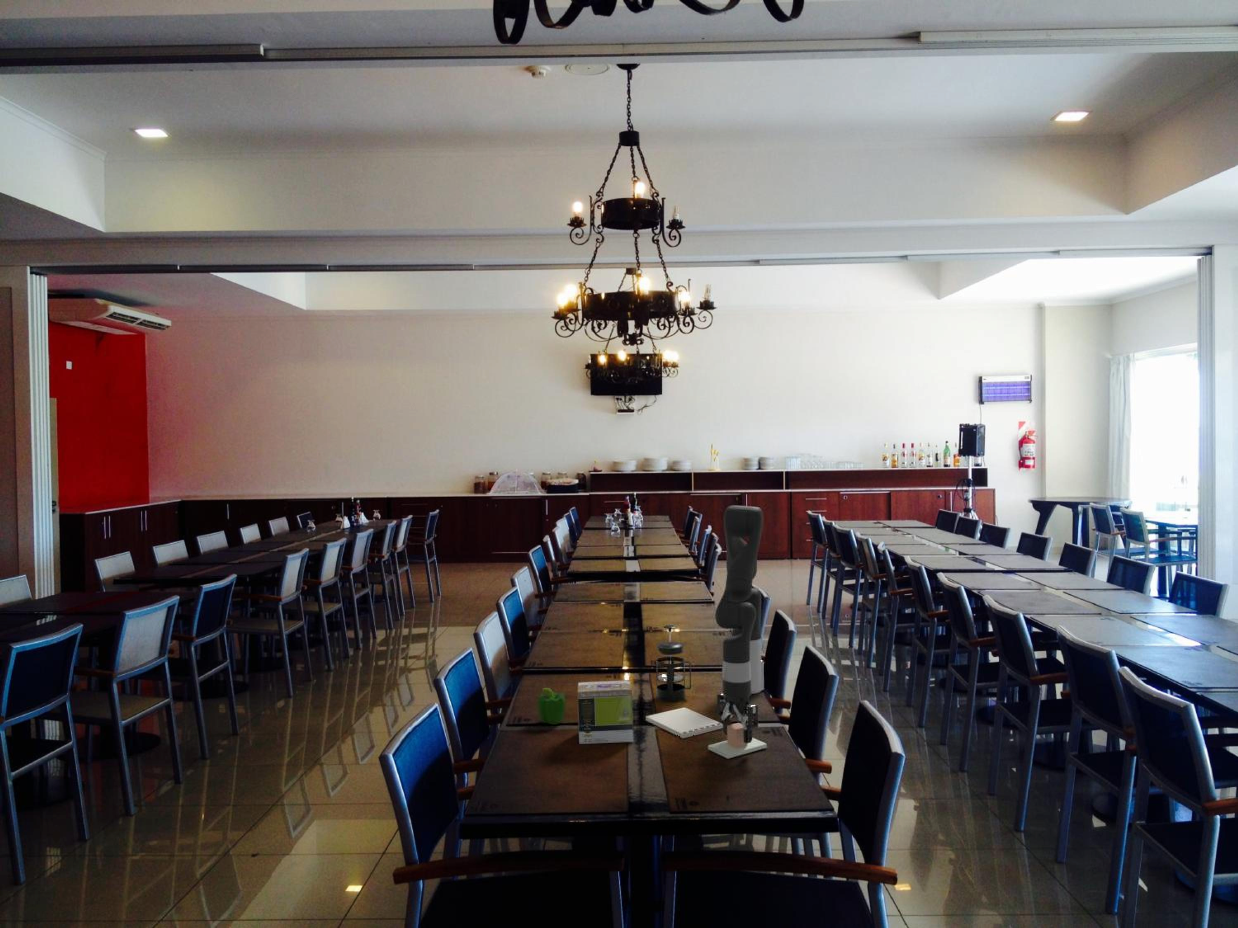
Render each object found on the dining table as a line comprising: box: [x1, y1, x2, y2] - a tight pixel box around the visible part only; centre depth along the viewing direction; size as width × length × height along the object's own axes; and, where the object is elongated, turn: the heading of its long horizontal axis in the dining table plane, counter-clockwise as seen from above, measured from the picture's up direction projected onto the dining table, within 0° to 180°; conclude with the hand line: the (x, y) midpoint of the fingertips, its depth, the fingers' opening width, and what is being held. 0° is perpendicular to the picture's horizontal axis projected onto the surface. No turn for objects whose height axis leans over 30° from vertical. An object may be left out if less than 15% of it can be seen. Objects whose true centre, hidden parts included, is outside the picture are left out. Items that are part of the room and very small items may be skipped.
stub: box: [707, 722, 768, 759], centre depth 229 cm, size 8×13×6 cm, turn 122°
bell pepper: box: [536, 687, 567, 725], centre depth 254 cm, size 8×8×10 cm
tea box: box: [577, 679, 634, 745], centre depth 240 cm, size 15×10×15 cm
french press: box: [655, 624, 692, 703], centre depth 274 cm, size 12×9×23 cm
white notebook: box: [645, 707, 723, 739], centre depth 250 cm, size 18×14×1 cm
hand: (737, 737), depth 229 cm, fingers open, 7 cm apart
